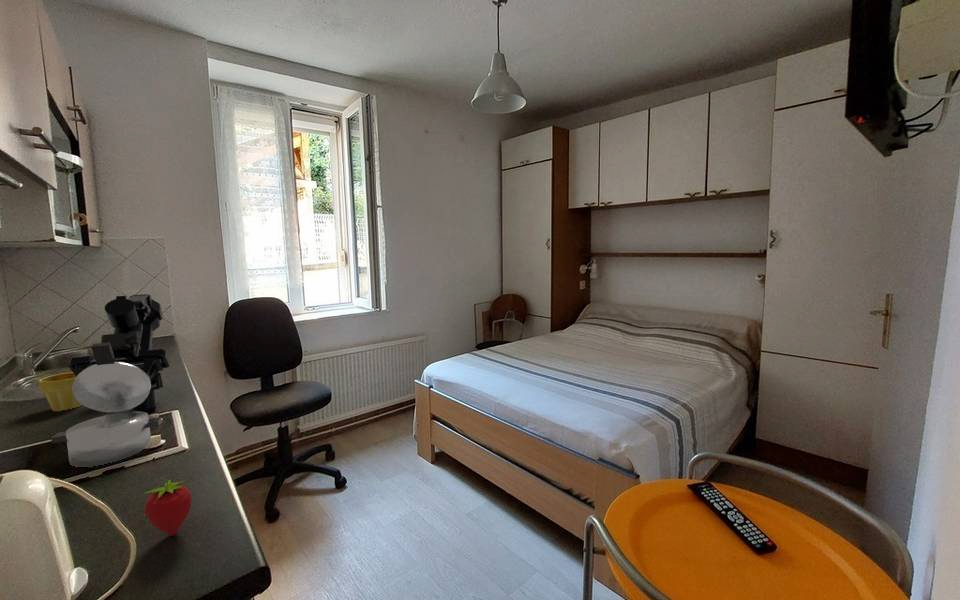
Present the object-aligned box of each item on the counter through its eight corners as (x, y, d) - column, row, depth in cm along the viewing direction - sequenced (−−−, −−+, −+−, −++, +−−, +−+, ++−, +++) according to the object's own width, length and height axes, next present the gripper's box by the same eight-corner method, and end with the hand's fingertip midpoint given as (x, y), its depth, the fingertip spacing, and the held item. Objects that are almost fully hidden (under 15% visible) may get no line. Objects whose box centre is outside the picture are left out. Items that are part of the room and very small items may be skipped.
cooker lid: (81, 417, 96) (84, 410, 98) (155, 406, 102) (157, 400, 104) (57, 349, 88) (61, 344, 90) (139, 342, 94) (141, 337, 96)
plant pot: (60, 415, 118) (56, 382, 117) (33, 412, 120) (28, 380, 119) (100, 402, 128) (96, 372, 127) (74, 400, 130) (70, 370, 129)
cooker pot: (72, 448, 96) (68, 420, 95) (169, 432, 104) (166, 406, 103) (41, 476, 83) (37, 444, 83) (154, 455, 92) (151, 425, 91)
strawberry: (150, 557, 60) (143, 493, 59) (146, 532, 66) (140, 473, 65) (198, 538, 64) (192, 478, 63) (191, 516, 70) (185, 460, 69)
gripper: (66, 324, 97) (49, 380, 89) (163, 317, 106) (156, 369, 97) (84, 350, 105) (70, 404, 96) (172, 342, 113) (167, 391, 105)
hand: (116, 391), depth 98 cm, fingers open, 9 cm apart
